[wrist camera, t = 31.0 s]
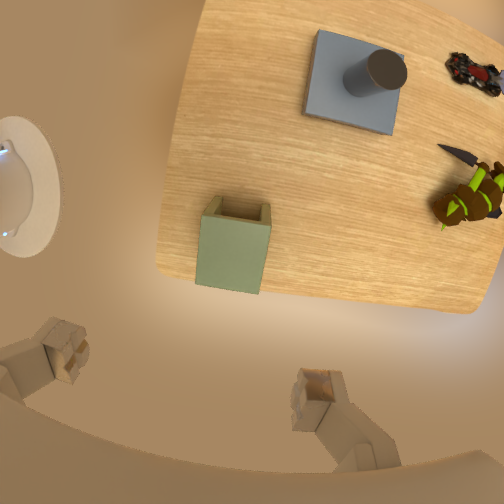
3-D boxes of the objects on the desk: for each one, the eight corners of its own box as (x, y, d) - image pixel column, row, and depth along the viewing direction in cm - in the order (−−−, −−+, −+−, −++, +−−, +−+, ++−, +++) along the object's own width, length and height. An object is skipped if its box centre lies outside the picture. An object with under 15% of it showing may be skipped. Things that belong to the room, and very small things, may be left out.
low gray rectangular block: (301, 114, 38) (305, 113, 35) (314, 37, 34) (319, 28, 30) (381, 134, 39) (392, 135, 35) (393, 60, 34) (404, 55, 30)
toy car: (496, 100, 34) (510, 101, 30) (444, 81, 34) (458, 79, 31) (495, 69, 32) (509, 67, 28) (443, 47, 32) (456, 43, 28)
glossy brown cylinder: (340, 92, 33) (364, 82, 24) (345, 61, 32) (369, 43, 23) (372, 101, 34) (404, 95, 24) (376, 71, 32) (409, 57, 23)
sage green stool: (208, 252, 47) (194, 284, 38) (215, 195, 44) (201, 215, 34) (259, 261, 47) (258, 294, 38) (270, 204, 44) (271, 226, 34)
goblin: (463, 118, 36) (405, 165, 39) (526, 178, 30) (472, 238, 32) (456, 153, 45) (403, 197, 48) (507, 207, 38) (456, 259, 41)
